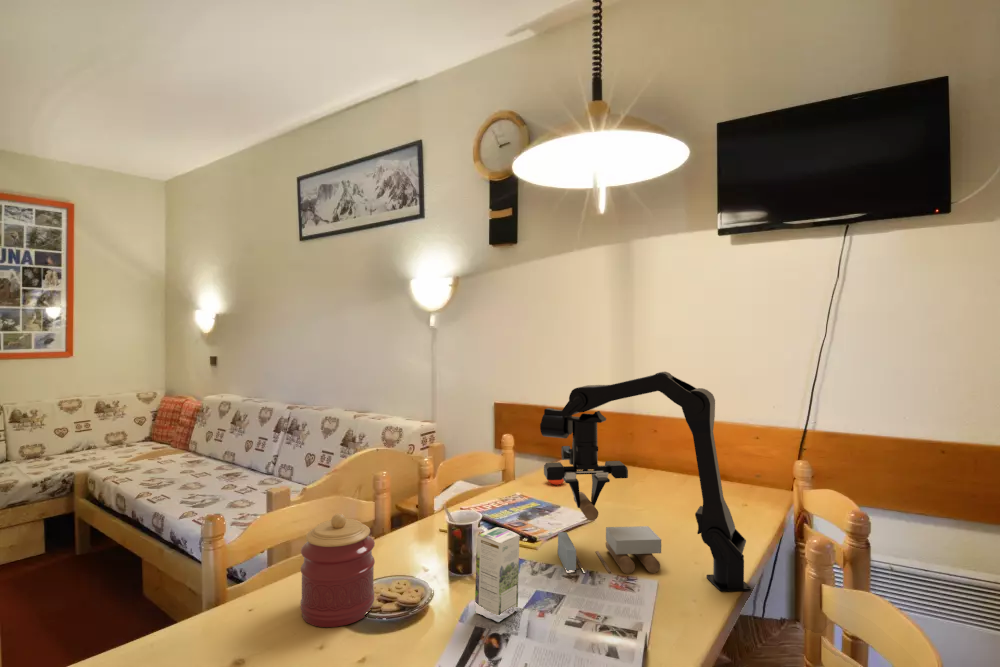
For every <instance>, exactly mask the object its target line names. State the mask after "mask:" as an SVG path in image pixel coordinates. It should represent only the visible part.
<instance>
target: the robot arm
mask: <svg viewBox="0 0 1000 667" xmlns="http://www.w3.org/2000/svg"><path fill="white" fill-rule="evenodd" d="M655 392H660V393H661V394H663V395H664V396H665V397H667V398H668V399H669V400H670V401H672V402H673V403H675V404H676V405H678V406H679V407H681V410H682V413H683V416H684V419H685V422H686V424H687V425H688V428H689V430H690V432H691V434H692V438H693V439H692V440H693V445H694V450H695V458H696V463H697V464H696V465H697V470H698V477H699V484H700V492H701V495H702V496H701V497H702V505H699V507H698V508H697V510H696V512H695V513H694V515H695V520H696V523H697V528H698V529H697V532H696V533H697V535H700V536H701V540H702V541H703V543H704V545H707V546H708V547H709V550H710V552H711V556H712V558H713V560H712V561H713V562H712V564H713V568H712V570H713V573H712V574H706V579H707V580H708V581H710V582H711V584H712V585H714V587H716V589H717V590H719V592H745V591H752V586H750V585H749V584H748V583H747V582H745V559H744V558H745V556H744V554H743V553H744V550H745V547H746V543H747V539H746V538H745V537H744V536H743V535H742V534H741V533H740V532H739V531H738V530H737V528H736V525H735V522H734V519H733V516H732V512H731V510H730V508H729V506H728V503H726V500H725V498H724V491H723V486H722V479H721V474H720V467H719V466H720V465H719V461H718V453H717V448H716V447H717V446H716V441H715V435H714V434H715V433H714V428H715V427H714V426H715V418H716V399H715V396H714V394H713V393H712V392H711V391H710V390H708V389H705V388H699V387H698V388H697V387H695V386H693V385H692V384H690V383H687V382H686V381H683V380H682V379H680V378H677V377H675V375H672V374H671V373H670V372H667V371H660V372H657V373H655V374H652V375H647V376H643V377H640V378H639V377H638V378H634V379H629V380H626V381H622V382H618V383H612V384H592V385H591V384H589V385H584V386H578V387H576V388H573V389H572V390H571V392H570V393H569V397H568V402H566V404H565V406H564V407H563V408H562V409H555V408H551V407H547V408H544V410H543V411H544V412H543V415H542V417H541V422H540V423H539V424H540V425H539V426H540V427H539V428H540V433H541V435H542V437H547V438H556V439H557V438H558V439H568V438H569V436H571V435H572V443H571V444H572V445H571V446H570V445H564V446H563V445H562V446H561V453H560V454H561V460H562V461H568V462H569V465H570V466H564V465H563V463H561V462H558V461H557V462H545V464H543V465H544V466H543V475H544V477H545V478H546V480H547V481H548V480H562V479H563V480H564V483H565V484H569V487H570V489H571V492H572V495H573V499H574V498H575V501H576V502H575V501H574V502H575V504H576V507H577V509H580V493H579V492H580V483H579V480H578V478H577V475H591V481H592V482H591V483H592V484H591V497H590V501H591V503H592V504H593V505H594V506H595V507H596V504H597V501H598V499H599V496H600V494H601V492H602V491H603V489H604V486H605V485H606V484H607V483H610V482H611V481H610V480H611V479H610V478H609V475H611V476H612V477H613V479H628V478H629V469H628V466H627V465H625V464H624V463H623V462H622V461H620V460H609V461H607V460H605V463H604V465H599V462H598V457H599V456H598V454H599V453H598V452H599V446H598V424H599V423H604V422H606V421H607V418H606V417H605V416H604V415H603V414H602V413H601V411H600V410H597V411H595V412H594V413H587V412H588V411H591V410H594V409H596V408H599V407H601V406H603V405H605V404H608V403H611V402H613V401H617V400H622V399H627V398H632V397H637V396H642V395H645V394H650V393H651V394H652V393H655ZM585 412H586V413H585ZM579 413H581V415H579V416H575V415H576V414H579ZM573 415H574V416H573ZM571 465H572V466H571Z"/></svg>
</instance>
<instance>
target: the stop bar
mask: <svg viewBox="0 0 1000 667" xmlns="http://www.w3.org/2000/svg"><path fill="white" fill-rule="evenodd" d="M572 541H573V540H572V539H571V538H570V536H569V534H568V532H567V531H565V532H562V531H561V532H559V531H558V533H557V555H558V558H559V560H560V562H561V564H562V567H563V568H564V567H565V568H566V570H567V571H569V570H576V571H577V562H576V555H577V548H576V547H575V545H574V543H573V542H572Z"/></svg>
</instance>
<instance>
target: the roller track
mask: <svg viewBox="0 0 1000 667" xmlns="http://www.w3.org/2000/svg"><path fill="white" fill-rule="evenodd" d="M605 549H607V551H608V553H609V554H610V555H611V557H612V558H613V560H614V561H615V563H616V564H617V565H618V567H619V568H620V570H621V571H622V572H623V574H627V575H629V574H632V573H633V572H634V571H635V568H636V564H635V562H634V561H633V559H631V557H630V556H629V554H615V552H614V551H613V549H612V548H611V547H610V545H609V544H608V542H607V541H606V540H605ZM595 554H596V555H597V557H598V558H599V560H600V562H601V563H602V565H603V566H604V568H605V569H606V571H607V573H608V572H609V573H608V574H612V570H611V569H610V567H609V565H608V564H607V563H606V561H605V559H604V558H603V556H602V555H601V553H600V552H599V550H596V551H595ZM634 555H635V557H636V558H637V559H638V560H639V561H640V562H641V564H642V565H643V567H644V569H646V570H647V571H648V573H650V574H655V573H658V571H660V569H661V568H660V567H661V563H660V561H659V560H658V559H657V558H656V557H655V555H654V554H634ZM577 563H578V564H577ZM576 564H577V565H578V567H579V569H580V568H583V569H584V567H583V564H582V563H581V561H580V560H579V558H578V556H577V554H576Z"/></svg>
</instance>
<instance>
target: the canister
mask: <svg viewBox="0 0 1000 667" xmlns="http://www.w3.org/2000/svg"><path fill="white" fill-rule="evenodd" d="M370 534H371V529H370V527H369V526H367V525H366V524H364V523H362V522H361V521H359V520H357V519H353V518H346V516H345V515H344V514H343V513H336V514H333V516H332V517H331V519H330V520H326V521H323V522H320V523H319V524H317V525H316V526H315V527H313V528H312V529H311V530H309V531H308V532H307V533H306V535H305V540H306V542H305V543H304V544H303V545H302V546H301V549H300V555H301V556H302V557H303V563H302V564H301V567H300V572H301V599H300V611H301V617H302V619H303V620H304V621H305V622H306V623H307V624H308V625H309V624H310V625H312V626H315V627H321V628H337V627H344V626H347V625H351V624H353V623H356V622H358V621H360V620H362V619H364V618H365V617H366V616H364V614H365V613H366V612H367V611H369V610H370V608H371V606H372V604H373V605H374V601H375V589H374V576H375V574H374V570H375V569H374V568H375V567H374V565H375V562H376V561H375V557H374V556H373V553H372V550H374V547H375V543H376V542H375V540H374V539H373V537H371V536H370Z"/></svg>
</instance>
